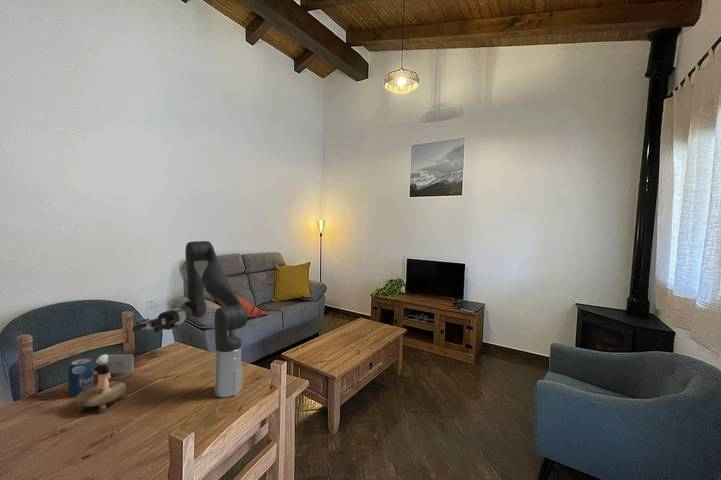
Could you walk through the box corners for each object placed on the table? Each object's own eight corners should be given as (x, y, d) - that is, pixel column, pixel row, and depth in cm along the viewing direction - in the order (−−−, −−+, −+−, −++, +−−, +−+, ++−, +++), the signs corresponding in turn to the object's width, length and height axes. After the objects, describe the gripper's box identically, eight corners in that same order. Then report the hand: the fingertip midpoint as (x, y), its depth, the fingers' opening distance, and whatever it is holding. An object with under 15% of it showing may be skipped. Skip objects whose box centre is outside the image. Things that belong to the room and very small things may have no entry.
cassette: (100, 373, 128) (100, 356, 127) (104, 371, 129) (104, 354, 129) (131, 373, 129) (131, 355, 129) (134, 371, 131) (134, 354, 130)
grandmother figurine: (117, 388, 108) (117, 353, 107) (107, 394, 104) (107, 358, 104) (98, 386, 109) (98, 351, 108) (87, 392, 105) (87, 356, 104)
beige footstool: (134, 395, 113) (134, 382, 112) (103, 417, 100) (103, 402, 99) (101, 393, 113) (101, 380, 113) (65, 414, 100) (65, 399, 100)
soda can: (84, 397, 110) (84, 365, 110) (62, 398, 109) (62, 365, 109) (98, 387, 117) (98, 356, 117) (77, 388, 116) (78, 357, 116)
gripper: (156, 309, 134) (126, 319, 118) (187, 310, 133) (161, 320, 117) (156, 326, 134) (126, 338, 118) (187, 327, 134) (161, 339, 117)
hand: (144, 329), depth 118 cm, fingers open, 8 cm apart
